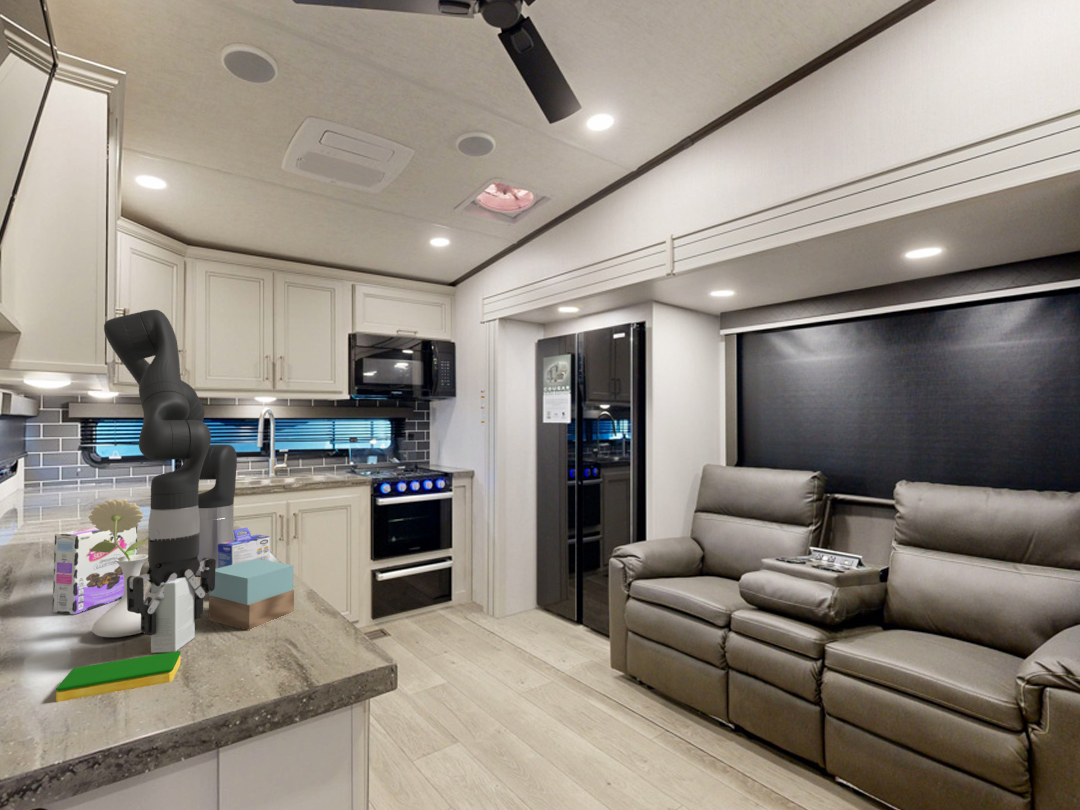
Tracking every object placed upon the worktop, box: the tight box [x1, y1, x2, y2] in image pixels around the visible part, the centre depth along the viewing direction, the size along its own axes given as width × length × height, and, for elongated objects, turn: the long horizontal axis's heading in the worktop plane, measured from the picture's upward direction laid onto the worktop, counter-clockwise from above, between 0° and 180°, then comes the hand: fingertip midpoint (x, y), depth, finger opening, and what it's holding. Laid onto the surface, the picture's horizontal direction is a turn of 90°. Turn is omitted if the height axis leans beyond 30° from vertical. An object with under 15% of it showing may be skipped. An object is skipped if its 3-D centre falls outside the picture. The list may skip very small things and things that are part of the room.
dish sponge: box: [55, 650, 182, 703], centre depth 81 cm, size 7×14×2 cm, turn 115°
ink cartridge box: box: [218, 527, 271, 568], centre depth 123 cm, size 10×6×14 cm, turn 155°
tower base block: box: [208, 589, 295, 631], centre depth 108 cm, size 10×12×5 cm
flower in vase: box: [88, 498, 148, 638], centre depth 101 cm, size 13×11×25 cm
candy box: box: [52, 526, 138, 615], centre depth 116 cm, size 14×6×16 cm, turn 168°
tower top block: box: [208, 559, 294, 605], centre depth 108 cm, size 10×12×5 cm
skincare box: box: [150, 577, 196, 654], centre depth 94 cm, size 6×4×12 cm
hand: (173, 626), depth 94 cm, fingers closed on skincare box, 7 cm apart
